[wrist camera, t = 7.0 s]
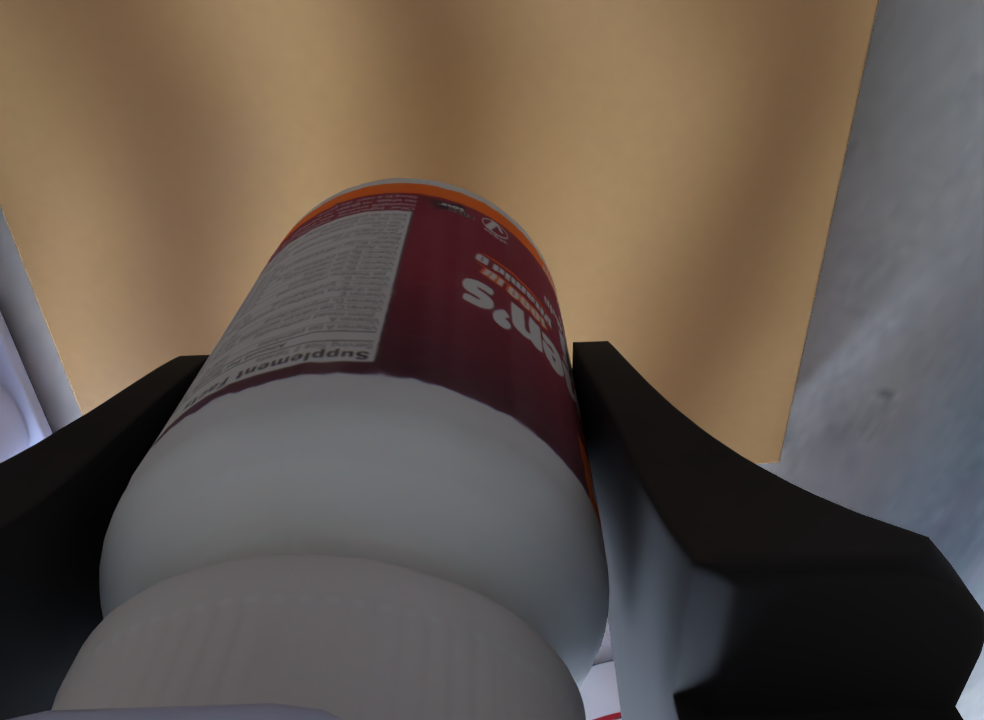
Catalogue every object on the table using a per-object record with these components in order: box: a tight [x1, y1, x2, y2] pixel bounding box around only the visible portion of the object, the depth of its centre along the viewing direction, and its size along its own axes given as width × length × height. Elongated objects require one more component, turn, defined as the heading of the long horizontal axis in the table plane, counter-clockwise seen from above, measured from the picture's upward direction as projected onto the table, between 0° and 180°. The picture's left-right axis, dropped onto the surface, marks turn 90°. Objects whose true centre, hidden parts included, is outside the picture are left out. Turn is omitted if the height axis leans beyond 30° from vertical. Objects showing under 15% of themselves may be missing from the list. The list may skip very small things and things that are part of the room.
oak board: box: [0, 0, 879, 464], centre depth 19 cm, size 20×14×2 cm
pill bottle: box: [51, 178, 610, 720], centre depth 11 cm, size 6×6×11 cm
